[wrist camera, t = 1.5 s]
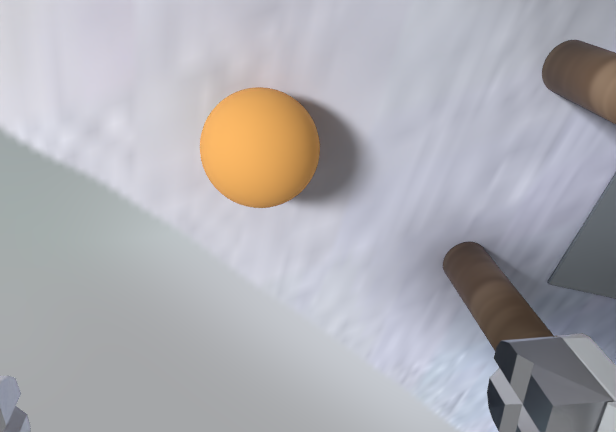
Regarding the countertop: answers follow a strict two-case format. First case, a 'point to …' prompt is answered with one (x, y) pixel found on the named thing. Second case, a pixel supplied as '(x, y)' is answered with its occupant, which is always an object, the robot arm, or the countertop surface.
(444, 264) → the post
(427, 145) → the countertop surface
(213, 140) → the ball
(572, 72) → the post
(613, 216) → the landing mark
